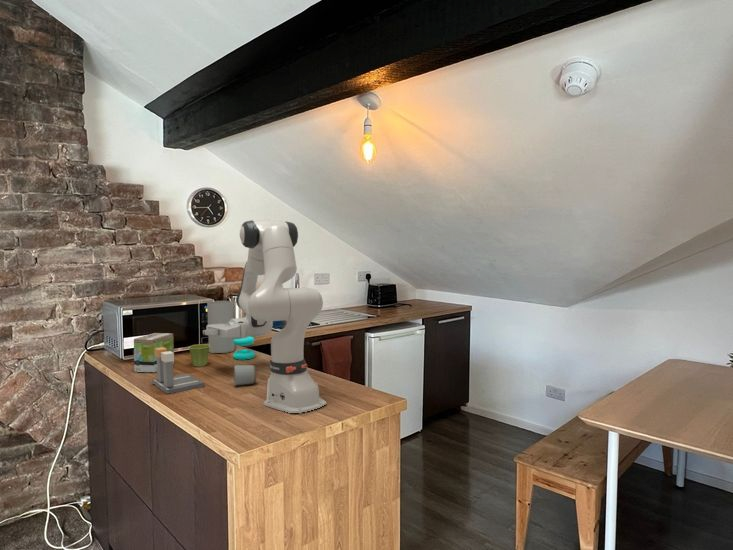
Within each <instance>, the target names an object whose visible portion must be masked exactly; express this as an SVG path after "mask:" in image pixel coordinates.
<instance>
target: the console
mask: <svg viewBox="0 0 733 550" xmlns="http://www.w3.org/2000/svg"><path fill="white" fill-rule="evenodd" d="M173 381H174V386H172V387H166V386H164V381H163V382H160V381H158V378H155V379H151V384H152V383H153V384H155V385H156V386H157V387H159V388H160V389H161V390H160V389H159V388H158V389H159V390H160V391H162V390H163V391H164V392H165V393H164V392H163V391H162V392H163V393H164V394H166V393H167V394H166V395H170V394H169V393H171V394H175V393H174V392H176V393H179V392H185V390H186V391H190V390H195V389H200V388H204V387H205V385H206V384H205V382H204V381H202V380H201V379H199V378H196V377H195V376H193V375H192V374H189V373H187V372H186V373H181V374H177V375H173ZM153 384H152V385H153ZM155 385H154V386H155ZM156 386H155V387H156ZM157 387H156V388H157Z"/></svg>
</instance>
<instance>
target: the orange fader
mask: <svg viewBox="0 0 733 550" xmlns="http://www.w3.org/2000/svg"><path fill="white" fill-rule="evenodd" d="M161 352H167V349H166V348H164V347H161V348H155V356H156V357H157V372H156V373H157V374H156V376H157V378H156V379H158V381H160V382H163V381H164V376H163V361H162V360H161Z"/></svg>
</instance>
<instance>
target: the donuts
mask: <svg viewBox="0 0 733 550" xmlns="http://www.w3.org/2000/svg"><path fill="white" fill-rule="evenodd" d="M254 342H255V338H254V337H246V338H243V339H234V340H233V343H234V345H235V346H238V347H246V346H250V345H253V344H254ZM255 355H256V353H255V351H254V350H252V349H245V348H244V349H238V350H236V351H234V353H233V358H234V359H235V360H237V359H238V361H244V360H245V361H246V359H247V360H251V359H253V358H254V357H255Z"/></svg>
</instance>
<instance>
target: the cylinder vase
mask: <svg viewBox="0 0 733 550" xmlns="http://www.w3.org/2000/svg"><path fill="white" fill-rule="evenodd" d="M206 305H207V307H206V308H207V325H212V324H227V323H228V322H229V321H230V319H235V317H234V301H232V300H216V301H209V302H207V304H206ZM207 336H208V345H210V348H209V352H208V353H210V354H214V353H223V354H228V352H229V353H233V351H234V352H235V346H236V345H235V344H234V343H233V339H231V338H224V337H220V336H216V335H207Z"/></svg>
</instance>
